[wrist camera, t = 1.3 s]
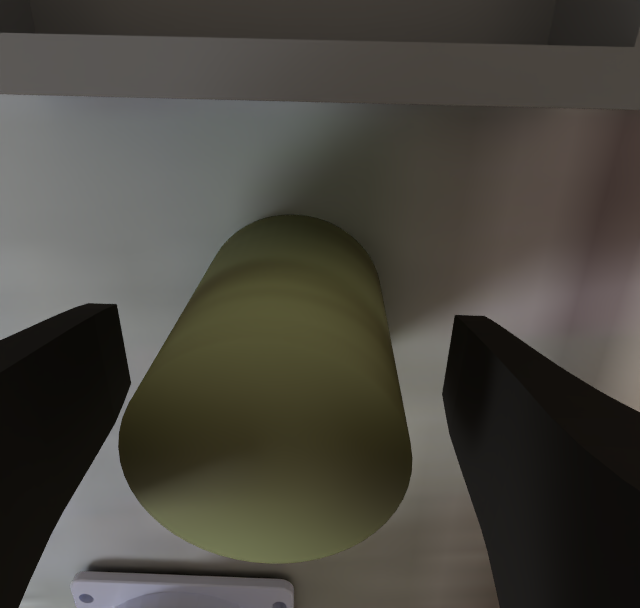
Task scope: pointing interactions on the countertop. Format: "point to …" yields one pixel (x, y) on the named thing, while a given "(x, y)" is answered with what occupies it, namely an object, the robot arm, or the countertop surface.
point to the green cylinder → (274, 402)
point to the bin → (328, 51)
